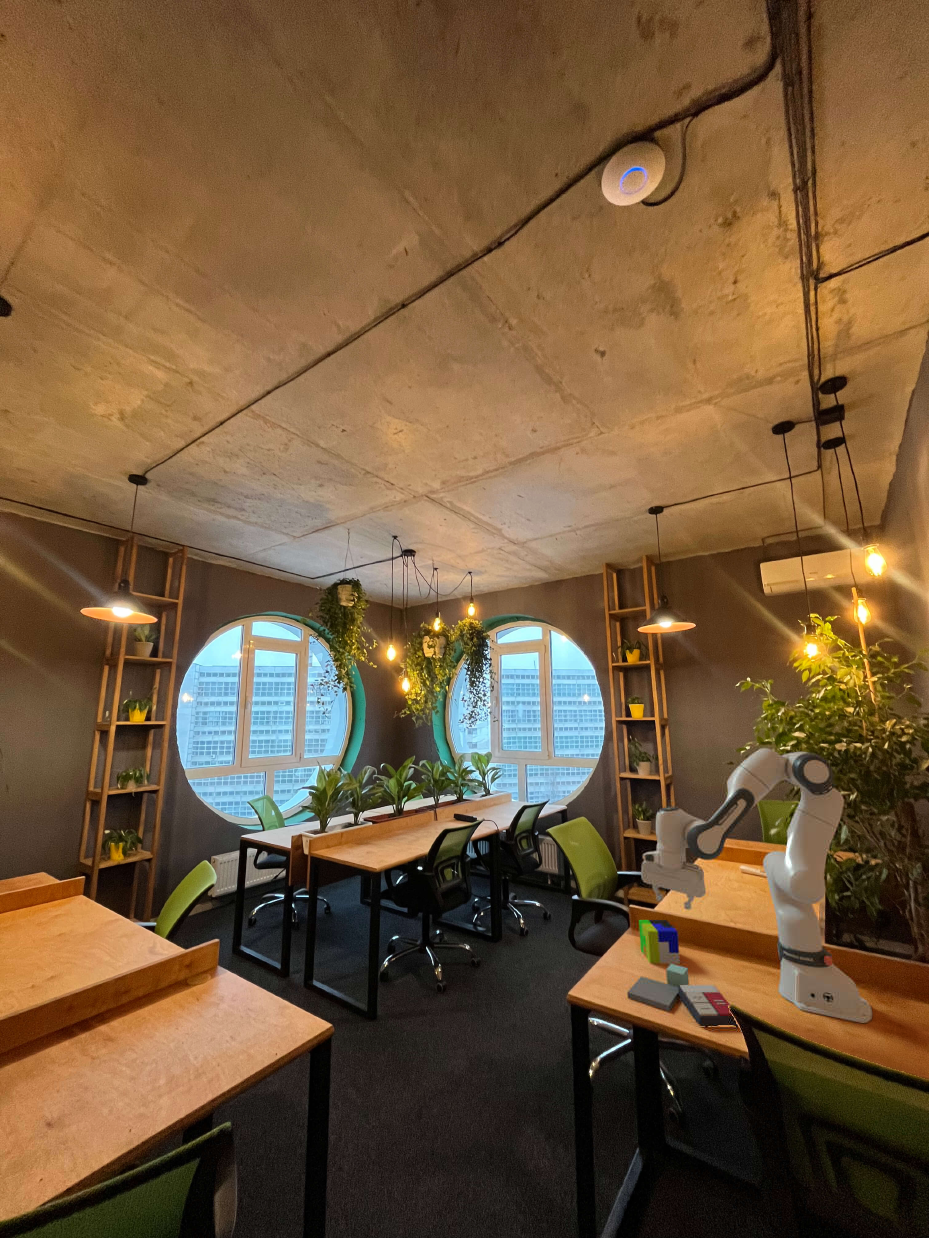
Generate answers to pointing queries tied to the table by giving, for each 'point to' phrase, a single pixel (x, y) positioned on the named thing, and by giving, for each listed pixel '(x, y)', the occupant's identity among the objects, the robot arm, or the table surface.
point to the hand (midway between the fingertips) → (673, 904)
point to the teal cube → (677, 975)
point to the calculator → (706, 1005)
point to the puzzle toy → (659, 941)
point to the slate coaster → (654, 993)
